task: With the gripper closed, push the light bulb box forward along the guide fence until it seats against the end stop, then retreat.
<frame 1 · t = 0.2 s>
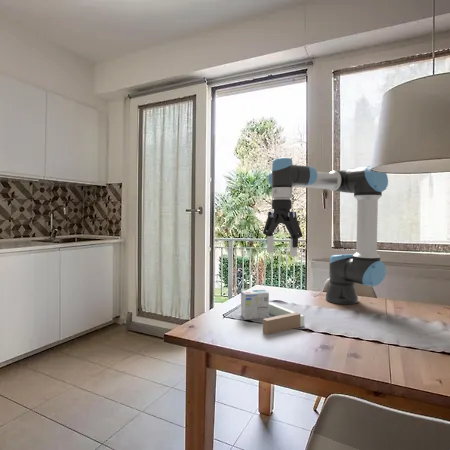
hand: (281, 254, 127), 28 cm above the table, fingers open, 13 cm apart
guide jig: (264, 321, 132), on the table
light bulb box: (254, 317, 138), on the table
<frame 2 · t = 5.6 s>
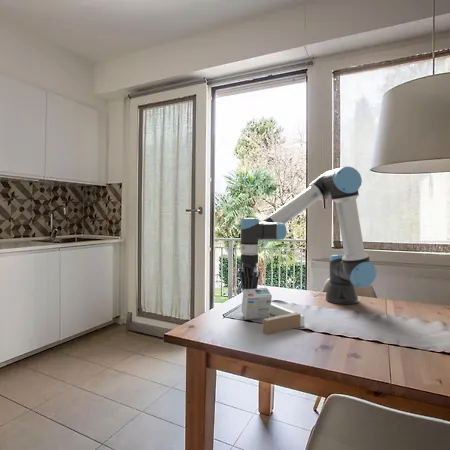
hand: (249, 308, 142), 2 cm above the table, fingers closed
light bulb box: (254, 314, 138), point 1 cm above the table, touching gripper, hand
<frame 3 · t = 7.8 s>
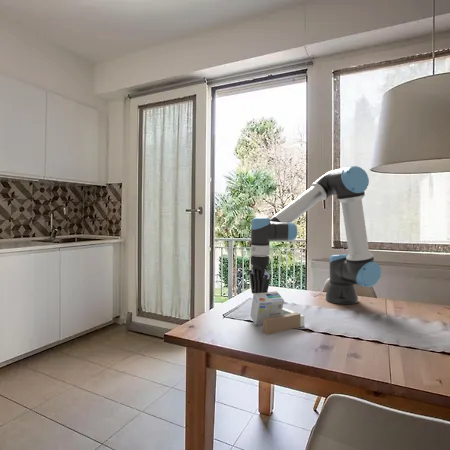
hand: (258, 312, 135), 3 cm above the table, fingers closed
light bulb box: (264, 319, 132), point 1 cm above the table, touching gripper, hand
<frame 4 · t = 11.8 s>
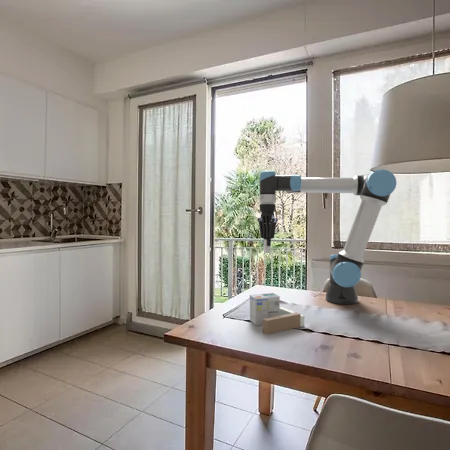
hand: (267, 252, 158), 24 cm above the table, fingers closed
light bulb box: (264, 322, 132), on the table
at the end: light bulb box inside the target area (3.5 cm from its centre), on the table; light bulb box tilted 0°; the gripper is holding nothing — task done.
